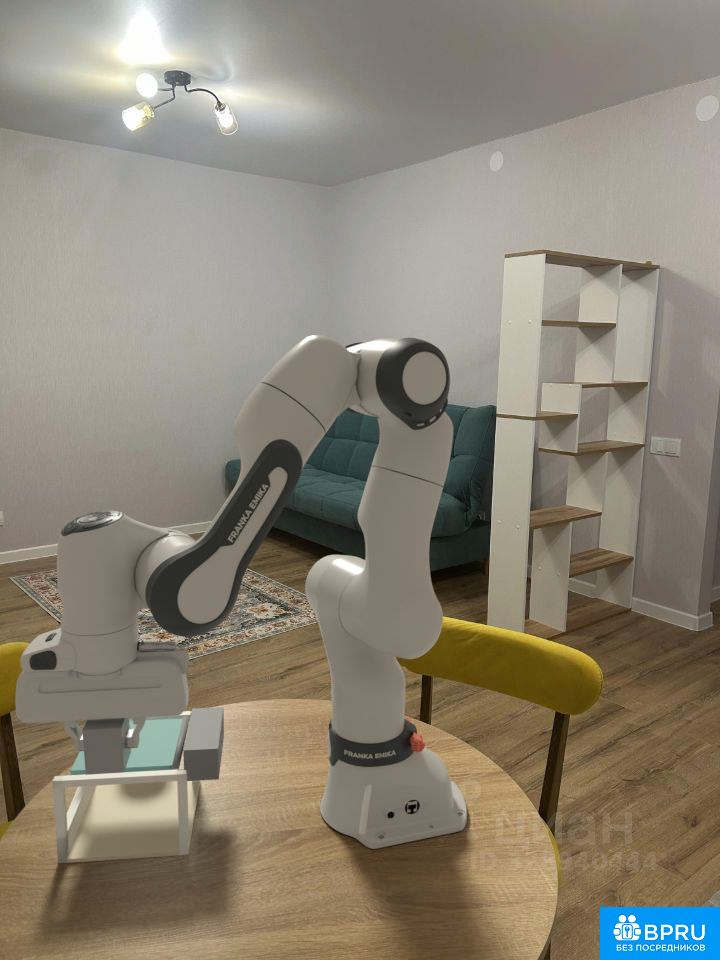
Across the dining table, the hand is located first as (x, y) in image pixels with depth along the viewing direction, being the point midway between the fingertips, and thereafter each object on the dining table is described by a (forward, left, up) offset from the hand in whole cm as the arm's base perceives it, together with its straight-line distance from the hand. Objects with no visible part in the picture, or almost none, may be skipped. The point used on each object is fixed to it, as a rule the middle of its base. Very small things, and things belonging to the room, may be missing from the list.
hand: (107, 747), depth 92 cm
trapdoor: (-3, -15, -11) cm, 19 cm away
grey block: (0, 0, -2) cm, 2 cm away
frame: (0, -15, -21) cm, 25 cm away
